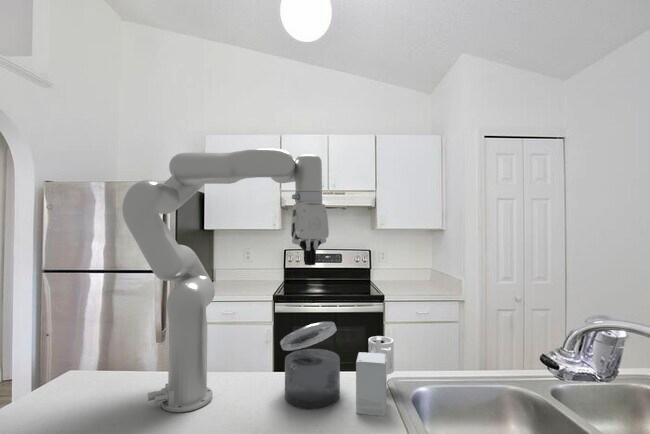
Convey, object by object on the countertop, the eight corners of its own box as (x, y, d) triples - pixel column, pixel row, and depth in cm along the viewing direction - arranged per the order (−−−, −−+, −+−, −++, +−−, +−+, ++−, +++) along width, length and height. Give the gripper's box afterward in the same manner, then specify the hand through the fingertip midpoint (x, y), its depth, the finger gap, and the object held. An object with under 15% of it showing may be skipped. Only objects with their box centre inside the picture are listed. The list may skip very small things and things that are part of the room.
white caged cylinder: (365, 392, 94) (365, 337, 95) (372, 382, 100) (371, 331, 101) (391, 397, 91) (390, 340, 92) (396, 386, 98) (395, 333, 98)
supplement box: (386, 417, 82) (385, 363, 82) (355, 413, 83) (355, 361, 84) (386, 402, 89) (386, 353, 89) (358, 399, 90) (358, 351, 91)
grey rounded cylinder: (302, 415, 82) (302, 373, 83) (275, 391, 95) (275, 355, 95) (351, 398, 90) (350, 360, 91) (320, 379, 103) (320, 345, 103)
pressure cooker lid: (295, 332, 85) (292, 319, 87) (273, 354, 95) (270, 342, 97) (346, 323, 94) (342, 311, 95) (320, 344, 104) (317, 333, 106)
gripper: (292, 196, 88) (293, 267, 87) (338, 199, 97) (339, 263, 96) (279, 199, 94) (279, 265, 93) (323, 201, 103) (324, 262, 102)
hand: (309, 264), depth 95 cm, fingers closed
